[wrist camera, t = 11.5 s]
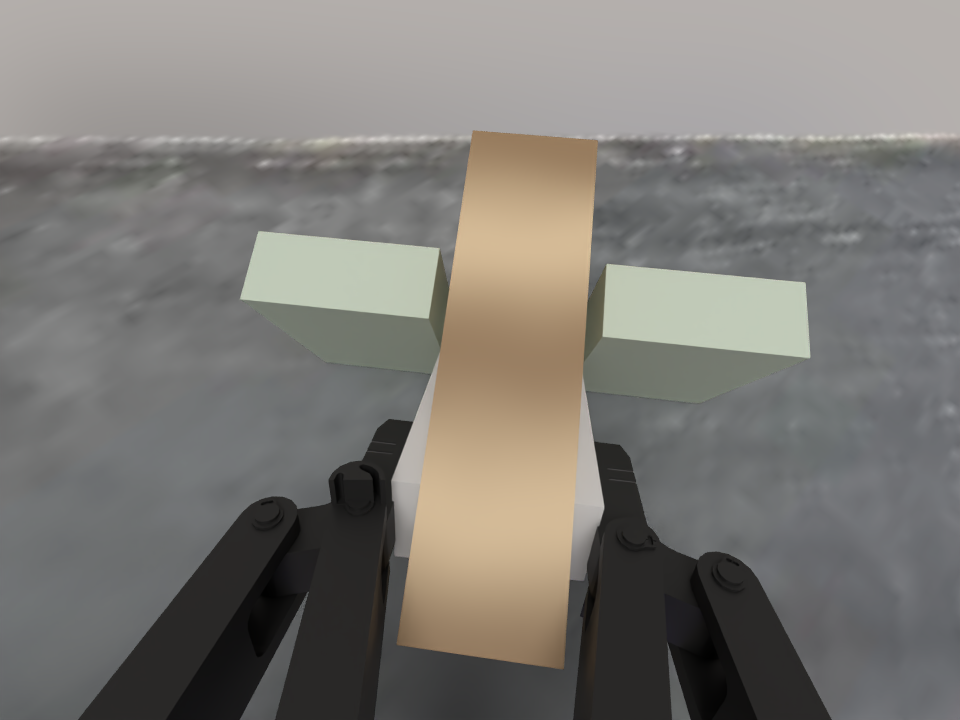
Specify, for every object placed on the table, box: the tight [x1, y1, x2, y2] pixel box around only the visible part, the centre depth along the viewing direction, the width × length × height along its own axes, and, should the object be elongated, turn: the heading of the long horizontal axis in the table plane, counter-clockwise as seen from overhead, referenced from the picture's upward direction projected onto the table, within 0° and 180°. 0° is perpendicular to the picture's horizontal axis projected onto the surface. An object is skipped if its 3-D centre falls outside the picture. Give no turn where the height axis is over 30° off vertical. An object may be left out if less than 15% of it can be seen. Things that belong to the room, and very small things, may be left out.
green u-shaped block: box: [240, 231, 810, 404], centre depth 19 cm, size 18×2×8 cm, turn 83°
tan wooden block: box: [397, 131, 598, 669], centre depth 16 cm, size 13×4×9 cm, turn 173°
